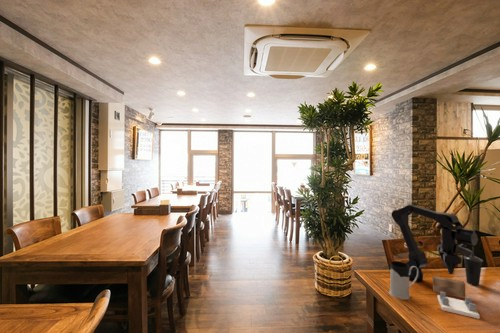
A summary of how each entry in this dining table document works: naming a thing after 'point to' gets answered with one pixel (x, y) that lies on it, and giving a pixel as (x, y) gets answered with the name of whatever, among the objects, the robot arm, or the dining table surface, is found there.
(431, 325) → the dining table surface
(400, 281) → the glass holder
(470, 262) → the drinking cup
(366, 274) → the dining table surface
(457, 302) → the side panel
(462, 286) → the door
